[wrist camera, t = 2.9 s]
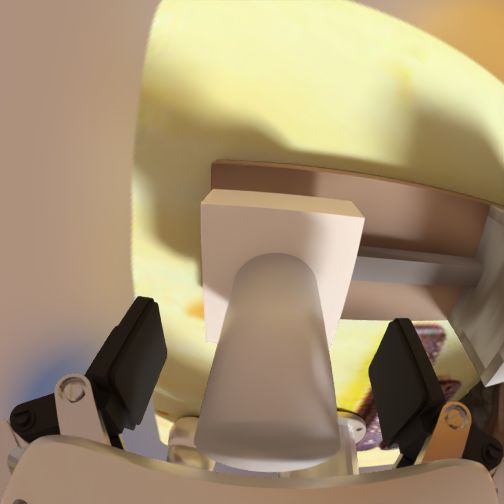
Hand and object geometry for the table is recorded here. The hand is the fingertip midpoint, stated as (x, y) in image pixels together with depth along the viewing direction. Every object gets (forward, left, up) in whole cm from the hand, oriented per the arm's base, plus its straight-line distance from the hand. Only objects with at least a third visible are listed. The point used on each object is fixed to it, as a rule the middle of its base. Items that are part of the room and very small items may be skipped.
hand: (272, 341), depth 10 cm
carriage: (0, 0, -7) cm, 7 cm away
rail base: (0, -9, -9) cm, 13 cm away
